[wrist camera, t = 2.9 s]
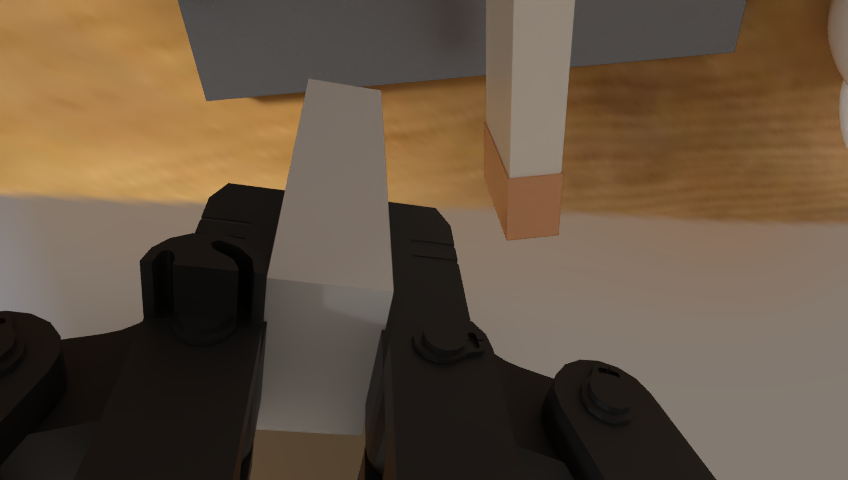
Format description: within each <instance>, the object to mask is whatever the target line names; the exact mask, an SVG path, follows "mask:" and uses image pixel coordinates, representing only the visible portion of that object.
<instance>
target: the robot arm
mask: <svg viewBox="0 0 848 480" xmlns="http://www.w3.org/2000/svg"><path fill="white" fill-rule="evenodd" d="M140 271H141V286H142V300H143V314H144V319H143V321H142V322H140V323H139V324H136V325H133V326H131V327H128V328H125V329H123V330H120V331H115V332H110V333H105V334H99V335H92V336H85V337H78V338H70V339H63V340H61V337H60V335H59V334H58V332H57V331H56V330H55V328H54V327H53V326H52V324H51V323H50V322H48V321H46V320H44V319H42V318H39V317H37V316H35V315H32V314H29V313H21V312H12V311H0V480H249V479H250V474H251V468H252V458H253V443H254V437H255V431H256V429H262V430H278V431H295V432H311V433H327V434H344V435H360V436H361V435H362V431H363V427H364V422H365V450H364V454H363V458H362V463H361V467H360V471H359V475H358V480H716V479H715V478H714V476H713V475H712V473H711V472H710V471H709V470H708V468H707V467H706V465H705V464H704V463H703V462H702V460H701V459H700V458H699V456H698V455H697V454H696V452H695V451H694V450H693V448H692V447H691V446H690V445H689V443H688V442H687V441H686V439H685V438H684V437H683V435H682V434H681V433H680V431H679V430H678V429H677V427H676V426H675V425H674V424H673V422H672V421H671V420H670V418H669V417H668V416H667V414H666V413H665V412H664V410H663V409H662V408H661V406H660V405H659V404H658V403H657V401H656V400H655V399H654V397H653V396H652V395H651V393H650V392H649V391H647V390H646V388H645V387H644V386H643V385H642V384H640V382H639V381H638V380H637V379H635V378H634V377H632V376H631V375H629V374H627V373H626V372H624V371H623V370H621V369H619V368H617V367H615V366H612V365H609V364H606V363H603V362H600V361H592V360H578V361H575V362H571V363H568V364H565V365H564V367H563V368H562V369H561V370H560V371H559V372H558V373H557V374H556V376H555V378H554V379H553V378H550V377H547V376H544V375H541V374H538V373H535V372H533V371H530V370H527V369H524V368H521V367H518V366H516V365H514V364H511V363H509V362H507V361H505V360H503V359H502V358H500V357H499V356H497V355H495V354H494V351H493V348H492V346H491V344H490V342H489V340H488V338H487V336H486V334H485V333H484V332H483V331H482V330H480V329H479V328H478V327H477V326H476V325H475V324H474V323H473V322H471V321H470V317H469V312H468V307H467V303H466V298H465V293H464V288H463V284H462V280H461V274H460V269H459V265H458V264H457V255H456V250H455V248H454V241H453V236H452V231H451V227H450V225H449V224H448V222H447V221H446V220H445V219H444V218H443V216H442V215H441V214H440V213H439V212H438V211H437V209H436V208H431V207H423V206H415V205H408V204H400V203H393V202H388V193H387V177H386V161H385V145H384V129H383V113H382V97H381V90H375V89H369V88H363V87H357V86H351V85H345V84H338V83H332V82H326V81H320V80H314V79H308V84H307V88H306V93H305V98H304V103H303V108H302V112H301V117H300V122H299V127H298V131H297V136H296V141H295V146H294V151H293V155H292V160H291V165H290V170H289V174H288V179H287V184H286V189H285V190H277V189H269V188H262V187H254V186H246V185H239V184H231V183H228V184H227V185H226V186H224V187H223V188H221V189H220V190H219V191H217V192H216V193H215V194H213V195H212V196H211V197H209V199H208V202H207V204H206V207H205V209H204V212H203V214H202V219H201V220H200V222H199V224H198V227H197V229H196V232H195V233H192V234H187V235H183V236H178V237H173V238H169V239H167V240H165V241H163V242H161V243H160V244H158V245H156V246H154V247H152V248H151V249H150V250H149V251H148V252H147V253H146V254H145V256H144V257H143V258H142V259H141V260H140Z"/></svg>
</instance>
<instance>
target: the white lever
mask: <svg viewBox="0 0 848 480" xmlns="http://www.w3.org/2000/svg"><path fill="white" fill-rule="evenodd" d="M574 7H575V0H486V122H484V177H485V180H486V183H487V186H488V189H489V191H490V194H491V197H492V200H493V203H494V206H495V209H496V211H497V214H498V217H499V220H500V223H501V226H502V228H503V231H504V234H505V237H506V240H517V239H526V238H536V237H546V236H554V235H559V222H560V211H561V199H562V187H563V175H564V174H563V172H562V171H561V170H562V157H563V145H564V132H565V120H566V107H567V95H568V82H569V70H570V57H571V45H572V32H573V20H574Z"/></svg>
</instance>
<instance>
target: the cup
mask: <svg viewBox="0 0 848 480" xmlns="http://www.w3.org/2000/svg"><path fill="white" fill-rule="evenodd" d="M827 32H828V42H829V47H830V51H831V54H832V57H833V60H834V62H835V65H836V67H837V69H838V71H839V73H840V75H841V76H842V78H843V82H842V85H841V89H840V95H839V120H840V128H841V133H842V137H843V140H844V143H845V145H846V148H847V150H848V0H831V2H830V6H829V11H828V23H827Z"/></svg>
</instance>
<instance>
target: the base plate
mask: <svg viewBox="0 0 848 480" xmlns="http://www.w3.org/2000/svg"><path fill="white" fill-rule="evenodd" d="M746 1H747V0H575V7H574V20H573V32H572V45H571V57H570V67H579V66H590V65H601V64H612V63H623V62H633V61H644V60H655V59H666V58H677V57H687V56H698V55H709V54H720V53H730V52H735V47H736V43H737V39H738V35H739V30H740V26H741V22H742V18H743V14H744V9H745V5H746ZM178 3H179V6H180V10H181V13H182V17H183V20H184V24H185V27H186V31H187V34H188V38H189V41H190V45H191V48H192V52H193V56H194V59H195V63H196V66H197V70H198V73H199V77H200V80H201V84H202V87H203V91H204V94H205V98H206V101H213V100H223V99H234V98H245V97H256V96H267V95H277V94H288V93H299V92H306V88H307V84H308V79H314V80H320V81H326V82H332V83H338V84H345V85H351V86H357V87H364V86H374V85H385V84H396V83H407V82H418V81H428V80H439V79H450V78H461V77H472V76H482V75H486V0H178Z"/></svg>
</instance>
